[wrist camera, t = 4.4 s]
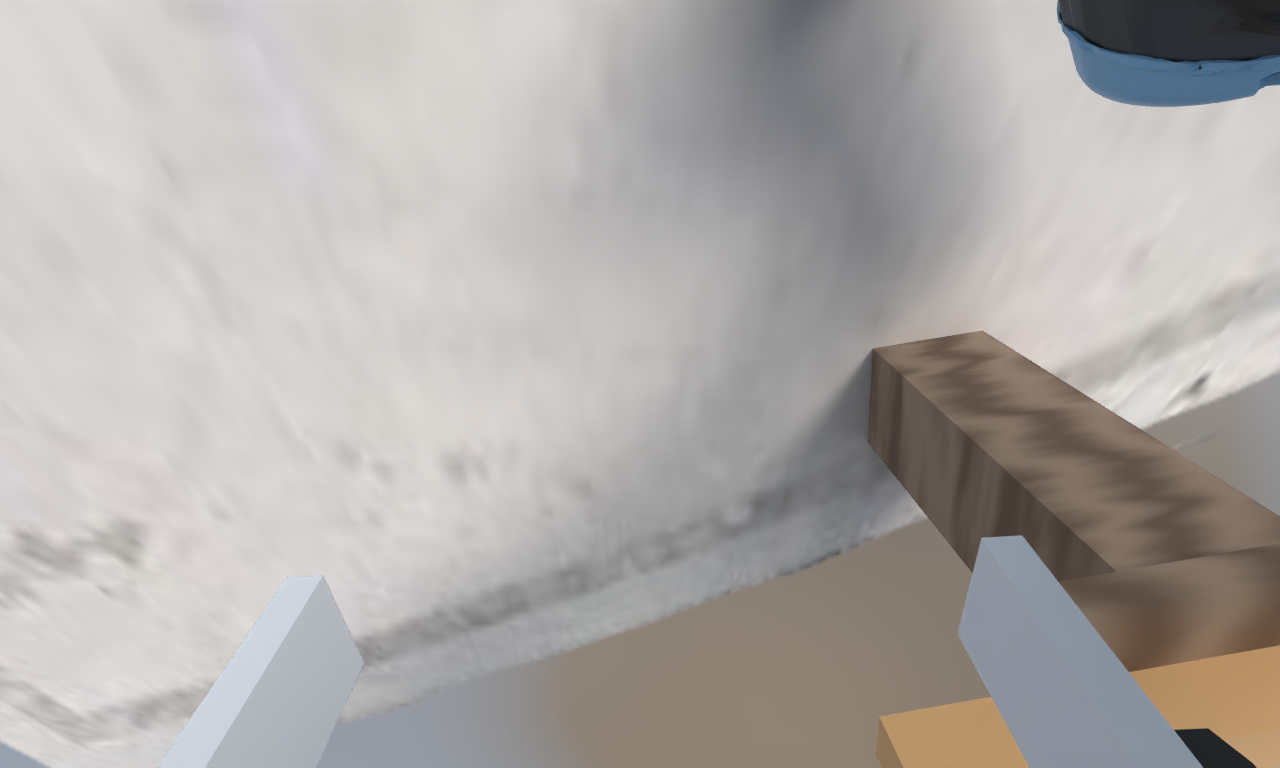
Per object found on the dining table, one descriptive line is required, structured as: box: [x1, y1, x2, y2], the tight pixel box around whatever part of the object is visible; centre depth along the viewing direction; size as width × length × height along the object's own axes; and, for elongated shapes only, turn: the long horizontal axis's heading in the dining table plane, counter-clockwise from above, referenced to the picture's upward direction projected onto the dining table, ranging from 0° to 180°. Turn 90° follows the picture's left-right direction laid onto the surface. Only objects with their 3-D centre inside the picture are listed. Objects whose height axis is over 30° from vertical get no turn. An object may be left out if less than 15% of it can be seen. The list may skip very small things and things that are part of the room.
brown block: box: [876, 645, 1280, 768], centre depth 28 cm, size 26×3×4 cm, turn 98°
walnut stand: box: [868, 331, 1280, 672], centre depth 43 cm, size 18×12×30 cm, turn 98°
